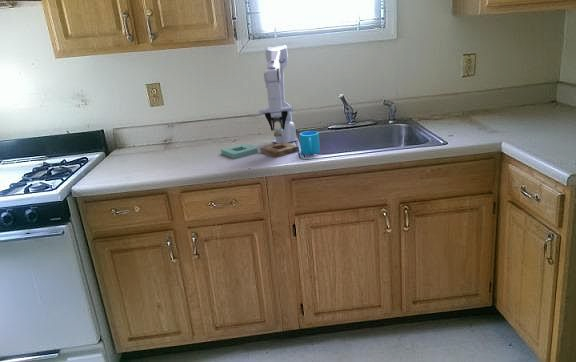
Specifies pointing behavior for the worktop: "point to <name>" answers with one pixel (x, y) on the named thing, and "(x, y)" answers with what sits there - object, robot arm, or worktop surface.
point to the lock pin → (277, 126)
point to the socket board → (239, 151)
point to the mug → (309, 142)
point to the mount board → (279, 149)
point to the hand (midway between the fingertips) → (277, 129)
